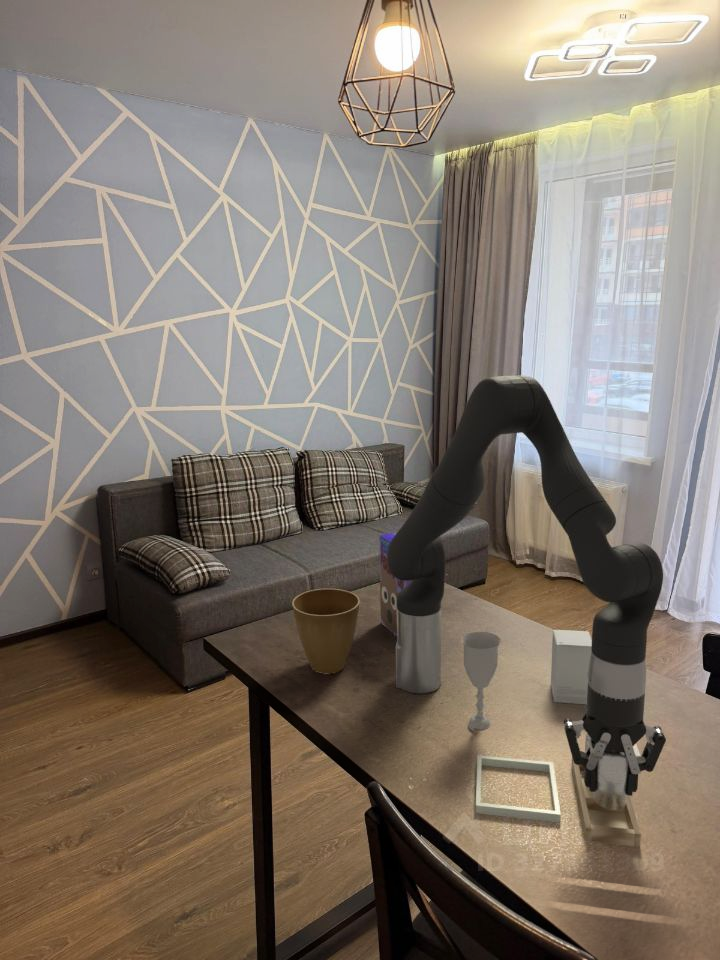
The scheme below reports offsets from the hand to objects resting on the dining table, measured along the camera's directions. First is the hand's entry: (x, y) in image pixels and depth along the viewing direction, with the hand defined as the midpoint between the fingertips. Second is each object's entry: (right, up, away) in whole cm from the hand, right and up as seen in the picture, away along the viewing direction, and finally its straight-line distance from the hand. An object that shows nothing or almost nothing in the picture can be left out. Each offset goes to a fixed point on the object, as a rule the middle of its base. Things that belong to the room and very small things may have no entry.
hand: (609, 789), depth 95 cm
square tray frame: (-11, -6, +9) cm, 16 cm away
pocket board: (+1, -6, +6) cm, 8 cm away
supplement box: (+7, +1, +39) cm, 39 cm away
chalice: (-14, -2, +28) cm, 31 cm away
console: (+9, -3, +17) cm, 20 cm away
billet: (0, -1, 0) cm, 2 cm away
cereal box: (-25, +6, +68) cm, 73 cm away
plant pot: (-44, +3, +53) cm, 68 cm away
